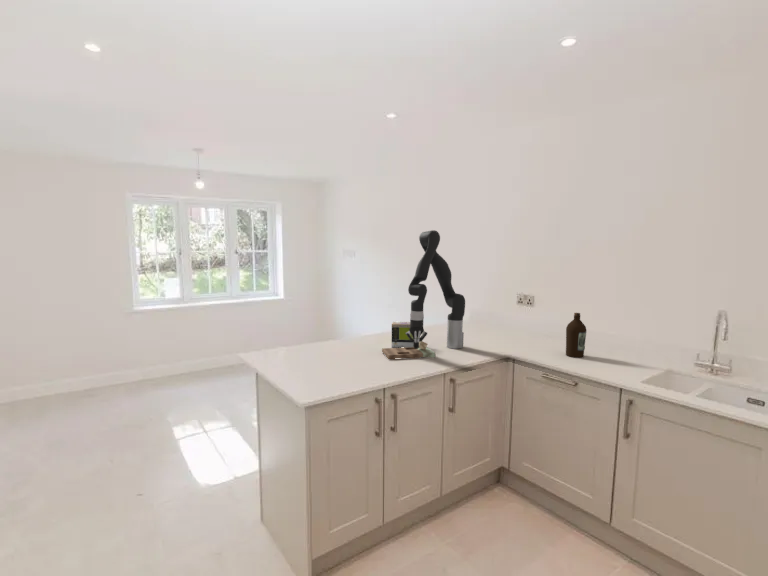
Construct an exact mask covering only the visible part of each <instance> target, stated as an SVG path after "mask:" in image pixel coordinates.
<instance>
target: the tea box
mask: <svg viewBox="0 0 768 576" xmlns="http://www.w3.org/2000/svg"><path fill="white" fill-rule="evenodd" d="M409 329H410V321H392V323H391V348H398V347H413V344H414V342H412V341H411V340H410V339H409V338H408V336H407V335H406V332H408V331H409ZM410 336H411V337H412V339H413V335H412V334H411V333H410Z"/></svg>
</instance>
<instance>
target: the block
mask: <svg viewBox="0 0 768 576" xmlns="http://www.w3.org/2000/svg"><path fill="white" fill-rule="evenodd" d="M428 345H429V344H428V343H427V342H425V341H423V340H422V341H420V342H419V348H421V349H423V350H425V349H426V347H428Z"/></svg>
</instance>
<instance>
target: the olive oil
mask: <svg viewBox="0 0 768 576" xmlns="http://www.w3.org/2000/svg"><path fill="white" fill-rule="evenodd" d="M565 329H566V330H565V355H566V356H567V357H570V358H575V359H582V358H584V355H585V349H586V348H585V347H586V337H587V326H586V325H585V324H584V322H583V321H582V320H581V313H580V312H574V314H573V319H572V320H571V321H569V323H567V325H566V328H565Z"/></svg>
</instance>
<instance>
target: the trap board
mask: <svg viewBox="0 0 768 576" xmlns="http://www.w3.org/2000/svg"><path fill="white" fill-rule="evenodd" d="M382 352H383V353H384V354H385V355H386V357H387V358H388V359H393V360H396V359H395V358H412V359H421V358H420V357H431V358H436V352H434V350H432V349H431V348H429V347H428V346H427V347H426V349H425V350H423V349H421V348H418V349H415V348H414V347H404V348H398V347H387V348H382V349H381V353H382ZM383 353H382V354H383ZM384 354H383V355H384ZM385 355H384V356H385ZM386 357H385V358H386ZM387 358H386V359H387ZM388 359H387V360H388Z"/></svg>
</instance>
